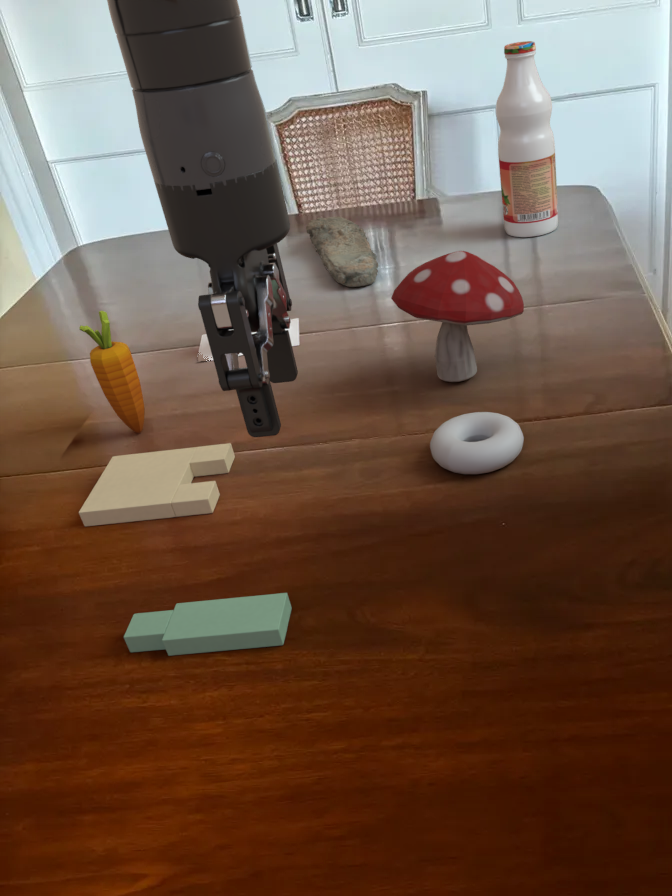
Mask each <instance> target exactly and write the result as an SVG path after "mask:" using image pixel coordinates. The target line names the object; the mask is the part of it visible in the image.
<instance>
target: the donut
mask: <svg viewBox="0 0 672 896" xmlns="http://www.w3.org/2000/svg"><path fill="white" fill-rule="evenodd" d="M524 439H525V437H524V433H523V431H522V429H521V426H520V425H519V423H517V422H516V421H515V420H514V419H512V418H511V417H510V416H508V415H504V414H501V413H498V412H491V411H475V412H469V413H464V414H463V413H462V414H461V415H458V416H454V417H451V418H450V419H448V420H446V421H444V422H443V423H442V424H440V426H438V427H437V428H436V429H435V431H434V432H433V434H432V436H431V439H430V441H429V448H430V453H431V457H432V458H433V460H434V461H435V462H436V463H437V465H439V466H440V467H441V468H442V469H445V470H447V471H450V472H452V473H456V474H461V475H481V474H486V473H492V472H494V471H497V470H499V469H500V470H501V469H503V468H505V467H506V466H508V465H509V464H511V463H512V462H514V461H515V460H516V458H517V457H518V456H519V455H520V454H521V452H522V449H523V446H524Z"/></svg>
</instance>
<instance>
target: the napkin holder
mask: <svg viewBox="0 0 672 896" xmlns="http://www.w3.org/2000/svg"><path fill="white" fill-rule="evenodd" d="M290 321H291V323H290V328H289V329H285V330H288V331H289V335H290V340H291V344H292V347H297V346H300V318H299V317H295V318H290ZM232 330H233V329H232ZM255 333H257V332H252V334H255ZM198 352H199V353H200V352H201V353H200V354H201V355H202V354H203V358H204V357H205V356H206V357H207V356H208V357H207V358H209V359H208V360H209V361H207V360H206V361H207V362H211V361H214V360H213V356H212V353H211V349H210V345H209V342H208V338H207V334H206V333H204V334H201V338H200V343H199V347H198ZM199 353H197V355H198V354H199ZM200 354H199V355H200ZM240 356H244V355H243V354H242V353H239V354H238V357H240ZM206 357H205V358H206ZM211 357H212V358H211ZM205 358H204V359H205ZM207 358H206V359H207ZM210 360H211V361H210Z"/></svg>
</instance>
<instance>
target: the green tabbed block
mask: <svg viewBox="0 0 672 896" xmlns="http://www.w3.org/2000/svg"><path fill="white" fill-rule="evenodd" d="M288 594H289V593H288V592H280V593H279V592H278V593H270V594H261V595H260V594H259V595H249V596H240V597H229V598H227V597H226V598H218V599H209V600H208V599H207V600H199V601H188V602H179V603H177V602H176V604H175V606H174V608H173V609H169V610H159V611H148V612H138V613H134V614H132V617H131V620H130V622H129V624H128V626H127V628H126V631H125V633H124V634H123V640H124V642H125V644H126V646H127V648H128V650H129V653H131V654H132V653H142V652H152V651H163V650H165V651H166V653H167V656H169V657H170V656H183V655H192V654H193V655H195V654H204V653H205V654H206V653H212V652H213V653H214V652H224V651H235V650H247V649H259V648H266V647H267V648H269V647H279V646H284V644H285V640H286V636H287V631H288V626H289V622H290V618H291V614H292V603H291V601H290V598H289V595H288Z"/></svg>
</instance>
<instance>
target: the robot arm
mask: <svg viewBox="0 0 672 896" xmlns="http://www.w3.org/2000/svg"><path fill="white" fill-rule="evenodd" d="M106 1H107V6H108V12H109V15H110V18H111V22H112V26H113V30H114V33H115V35H116V39H117V43H118V46H119V50H120V53H121V58H122V60H123V63H124V67H125V70H126V74H127V78H128V81H129V84H130V87H131V88H132V89H131V92H132V96H133V100H134V105H135V110H136V117H137V123H138V128H139V133H140V138H141V141H142V145H143V148H144V152H145V155H146V159H147V162H148V165H149V169H150V172H151V176H152V178H153V182H154V186H155V189H156V192H157V196H158V199H159V202H160V206H161V209H162V213H163V216H164V219H165V224H166V227H167V229H168V233H169V237H170V240H171V243H172V247H173V249H174V250H175V251H176V252H177V253H178V254H179V255H181V256H183V257H184V258H188V259H192V260H194V259H198V260H201V261H203V262H205V263H206V264H207V265H208V268H209V275H210V281H209V282H207V293H208V294H201V295H199V296H198V298H197V299H198V302H197V307H198V310H199V313H200V315H201V319H202V322H203V327H204V330H205V334H207V338H208V342H209V345H210V349H211V353H212V356H213V360H212V361H213V363H214V367H215V371H216V375H217V378H218V385H219V386H220V389H221V390H222V392H230V391H235V393H236V396H237V399H238V402H239V406H240V410H241V414H242V417H243V420H244V424H245V428H246V431H247V434H248V435H249V436H250V437H252V438H264V437H273V436H277V435H279V433H280V431H281V427H282V423H281V419H280V415H279V410H278V407H277V403H276V399H275V396H274V392H273V387H272V384H280V383H290V382H295V381H296V380H297V377H298V373H299V370H298V367H297V366H298V365H297V362H296V357H295V353H294V349H293V346H292V344H291V340H290V335H289V331H288V330H285V329H289V328H290V323H291V321H290V319H291V317H290V315H289V313H288V312H291V311H292V306H293V300H292V298H291V296H290V292H289V289H288V288H289V287H288V284H287V280H286V276H285V271H284V267H283V262H282V257H281V256H280V250H279V246H278V243H280V242H281V241H283V240H284V239H285V238H286V237H287V236H288V234H289V232H290V229H291V222H290V217H289V212H288V208H287V203H286V198H285V194H284V189H283V185H282V180H281V179H282V178H281V175H280V171H279V166H278V160H277V156H276V152H275V147H274V142H273V138H272V133H271V129H270V123H269V119H268V115H267V111H266V107H265V103H264V102H263V98H262V96H261V93H260V90H259V87H258V84H257V80H256V77H255V73H254V70H253V69H252V67H253V64H252V60H251V55H250V50H249V46H248V41H247V37H246V31H245V28H244V27H245V26H244V23H243V17H242V14H241V9H240V6H239V2H238V0H106ZM232 329H233V330H232ZM252 332H257V333H255V334H252ZM239 353H242V354H243V355H242V356H243V357H244V360H245V365H246V367H245V366H244V367H240V365H239V356H238V354H239Z"/></svg>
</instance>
